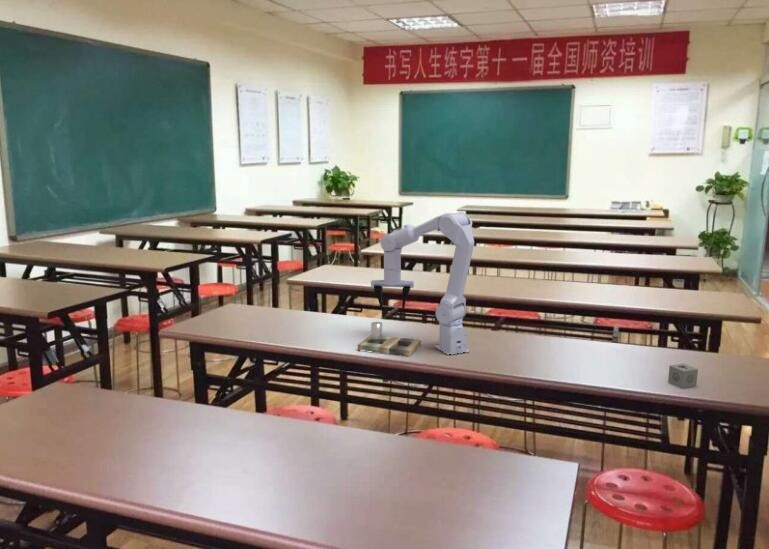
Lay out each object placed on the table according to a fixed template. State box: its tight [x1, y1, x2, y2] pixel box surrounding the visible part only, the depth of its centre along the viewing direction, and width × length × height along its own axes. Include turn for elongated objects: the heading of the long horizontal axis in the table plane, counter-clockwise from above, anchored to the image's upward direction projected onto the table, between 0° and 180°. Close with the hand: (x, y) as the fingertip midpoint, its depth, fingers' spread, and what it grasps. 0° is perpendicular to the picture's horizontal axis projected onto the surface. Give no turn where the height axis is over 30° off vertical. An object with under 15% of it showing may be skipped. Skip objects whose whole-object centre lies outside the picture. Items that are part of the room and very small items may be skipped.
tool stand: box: [357, 334, 422, 358], centre depth 204 cm, size 18×12×2 cm
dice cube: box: [667, 363, 699, 390], centre depth 172 cm, size 5×5×5 cm
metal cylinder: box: [370, 321, 383, 344], centre depth 205 cm, size 4×4×8 cm
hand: (392, 307), depth 215 cm, fingers open, 7 cm apart
